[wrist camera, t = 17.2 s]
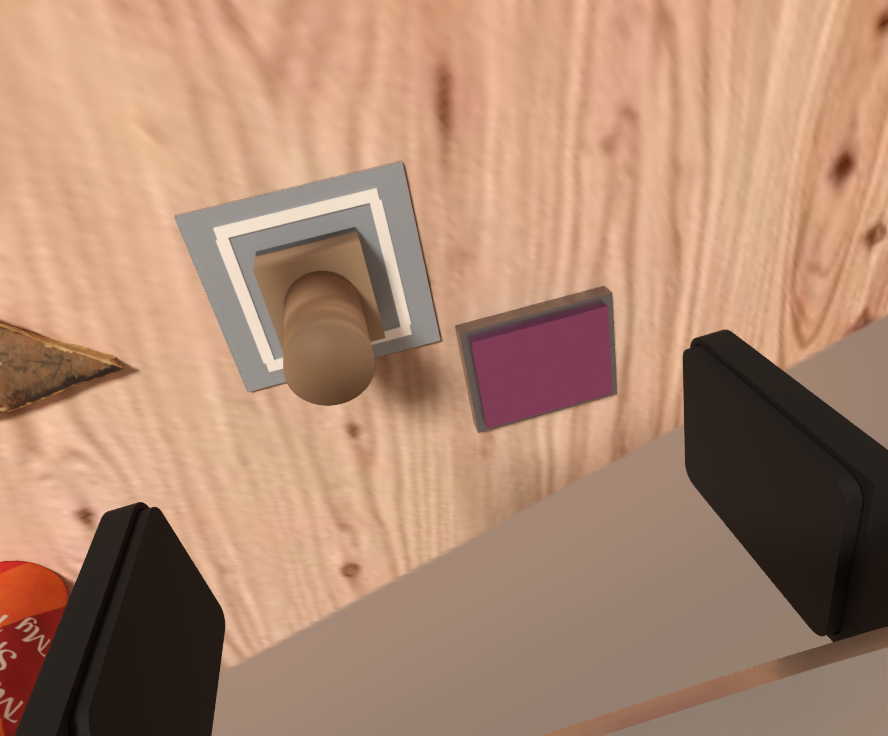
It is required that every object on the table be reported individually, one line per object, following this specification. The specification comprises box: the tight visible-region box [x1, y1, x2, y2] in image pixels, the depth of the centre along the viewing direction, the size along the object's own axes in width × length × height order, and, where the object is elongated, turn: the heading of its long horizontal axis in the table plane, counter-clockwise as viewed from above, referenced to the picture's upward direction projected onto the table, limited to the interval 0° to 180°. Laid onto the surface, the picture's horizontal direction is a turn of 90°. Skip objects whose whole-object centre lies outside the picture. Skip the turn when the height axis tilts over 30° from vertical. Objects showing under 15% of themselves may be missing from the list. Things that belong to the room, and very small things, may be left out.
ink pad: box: [455, 286, 617, 433], centre depth 37 cm, size 9×7×2 cm
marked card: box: [174, 161, 440, 392], centre depth 33 cm, size 11×10×1 cm
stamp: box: [253, 227, 385, 406], centre depth 29 cm, size 5×5×9 cm
